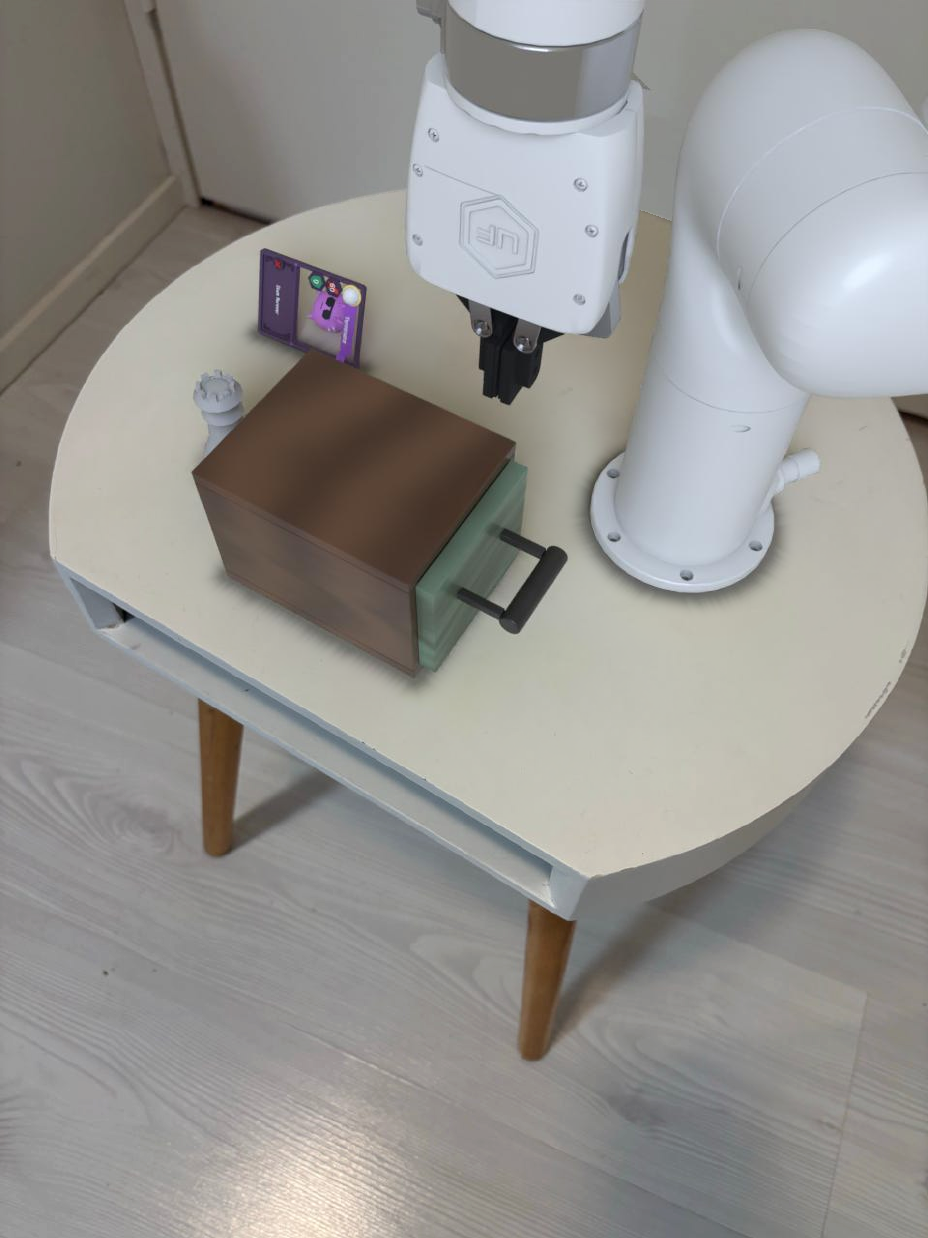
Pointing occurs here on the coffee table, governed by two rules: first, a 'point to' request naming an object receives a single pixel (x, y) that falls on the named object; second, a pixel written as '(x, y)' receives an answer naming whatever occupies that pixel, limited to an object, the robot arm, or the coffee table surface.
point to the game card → (328, 307)
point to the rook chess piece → (218, 405)
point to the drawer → (482, 570)
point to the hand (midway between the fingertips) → (507, 384)
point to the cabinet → (345, 499)
